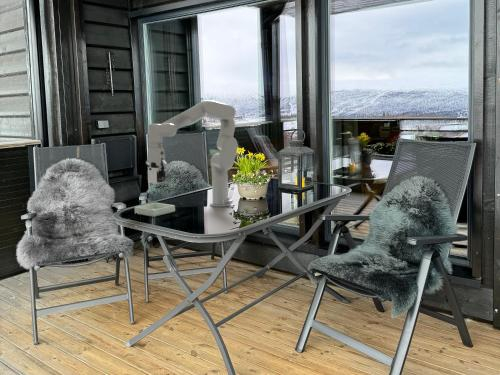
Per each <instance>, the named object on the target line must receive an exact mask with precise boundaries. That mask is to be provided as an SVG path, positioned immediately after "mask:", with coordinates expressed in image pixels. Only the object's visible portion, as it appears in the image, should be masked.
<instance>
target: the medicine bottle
mask: <svg viewBox="0 0 500 375" xmlns="http://www.w3.org/2000/svg"><path fill="white" fill-rule="evenodd" d="M160 165H161V164H160ZM161 168H162V167H161ZM151 169H152V170H149V169H147V183H148V184H157V185H158V184H162V183H166V182H167V181H166V169H165V170H164V177H162V178H159V171H160V169H159V167H158V166H156V163H154V162H152V163H151Z"/></svg>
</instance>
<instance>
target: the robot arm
mask: <svg viewBox="0 0 500 375" xmlns="http://www.w3.org/2000/svg"><path fill="white" fill-rule="evenodd" d="M236 113H237V111H236V109H235V107H234V106H232V105H230V104H227V103H222V102H219V101H216V100H212V99H211V100H210V99H208V100H207V99H205V100H202V101H200V102H198V103H197V104H195V105H194V106H192V107H190V108H188V109H186V110H184V111H183V112H180V113H178V114H176V115H175V116H173V117H171V118H169V119H167V120H165V121H164V122H162V123H149V124H148V128H147V129H148V151H147V160H145V164H146V166H147V170H152V169H151V163H152V162H154V163H156V166H158V167H159V169H160V171H159V178H162V177H164V170H165V171H166V169H167V168H166V167H167V165H168V163H167V162H166V156H165V155H166V154H165V148H163V146H164V145H163V137H170V138H171V137H174V136H175V135H176V134H177V132H178V130H179V129H180V128H183V127H186V126H187V127H188V126H191V125H194V124H195V123H197V122H198V121H200V120H202V119H203V118H205V117H207V116H211V117H215V118H217V119H218V120H219V122H220V129H219V132H218V137H217V140H216V148H217V149H218V150H219V151H220V152H216V153H214V154H213V155H212V156H211V158H210V167H211V168H210V169H211V191H212V195H211V196H212V202H210V203H209V205H210V207H215V208H216V207H217V208H222V207H229V206H231V205H232V204H233V203H234V200H232V199H230V197H229V175H228V171H229V170H231V168H232V167H233V165H234V163H235V159H236V155H237V151H238V147H239V146H238V141H237V139H236V138H235V137H234V133H235V129H236V123H235V119H234V118H235V116H236ZM160 164H161V165H160ZM161 167H162V168H161Z"/></svg>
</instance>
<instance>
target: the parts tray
mask: <svg viewBox="0 0 500 375" xmlns="http://www.w3.org/2000/svg"><path fill="white" fill-rule="evenodd" d="M174 212H176V205H174V204H170V203H169V204H167V203H162V202H151V203H147V204H142V205H138V206H134V214H136V213H137V214H136V215H141V216H142V215H143V216H148V217H159V216H163V215H166V214H167V215H168V214H171V213H174Z"/></svg>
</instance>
